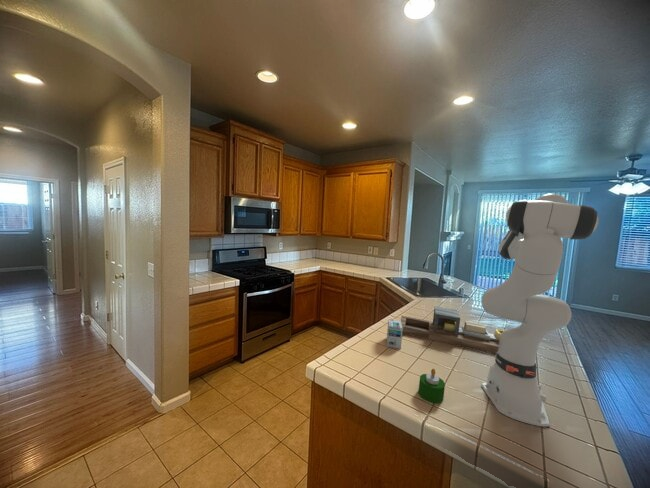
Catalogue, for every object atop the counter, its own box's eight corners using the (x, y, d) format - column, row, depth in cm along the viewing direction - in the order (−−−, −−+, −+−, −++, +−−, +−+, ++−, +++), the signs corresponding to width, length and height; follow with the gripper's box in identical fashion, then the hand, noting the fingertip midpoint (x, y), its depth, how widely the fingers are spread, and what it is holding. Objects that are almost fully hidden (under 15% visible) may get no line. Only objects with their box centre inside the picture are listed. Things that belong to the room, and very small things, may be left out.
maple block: (484, 339, 133) (486, 328, 133) (465, 335, 137) (466, 324, 136) (482, 334, 139) (483, 324, 138) (463, 331, 142) (465, 320, 142)
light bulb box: (401, 349, 124) (403, 328, 123) (386, 347, 125) (389, 325, 124) (399, 339, 135) (401, 320, 134) (386, 337, 136) (388, 318, 135)
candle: (430, 405, 86) (434, 377, 85) (413, 390, 93) (416, 364, 93) (448, 400, 89) (451, 373, 88) (430, 385, 97) (433, 360, 96)
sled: (513, 345, 128) (514, 337, 127) (443, 331, 139) (444, 323, 139) (507, 338, 136) (508, 330, 135) (442, 325, 147) (443, 318, 147)
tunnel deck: (512, 357, 124) (516, 329, 123) (398, 332, 144) (400, 308, 142) (502, 342, 141) (505, 317, 140) (401, 321, 160) (403, 300, 159)
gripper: (547, 270, 110) (543, 302, 111) (529, 264, 129) (526, 291, 130) (530, 268, 112) (525, 299, 113) (514, 263, 131) (511, 289, 132)
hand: (525, 295), depth 122 cm, fingers closed
